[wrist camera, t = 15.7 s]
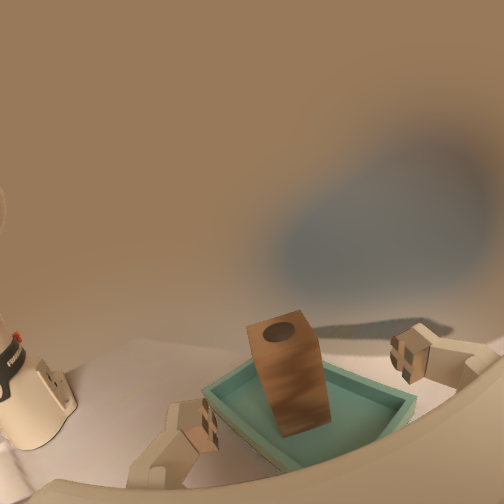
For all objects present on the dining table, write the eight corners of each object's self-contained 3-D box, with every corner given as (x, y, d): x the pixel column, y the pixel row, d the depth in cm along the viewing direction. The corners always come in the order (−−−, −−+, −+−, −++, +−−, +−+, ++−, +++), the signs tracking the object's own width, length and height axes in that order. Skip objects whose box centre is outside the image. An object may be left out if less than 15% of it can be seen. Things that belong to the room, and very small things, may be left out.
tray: (210, 406, 30) (201, 390, 29) (282, 357, 36) (277, 340, 35) (333, 507, 13) (332, 498, 13) (413, 414, 20) (417, 396, 19)
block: (282, 438, 22) (252, 357, 19) (273, 405, 27) (245, 325, 24) (331, 422, 22) (317, 336, 19) (317, 391, 27) (299, 308, 24)
